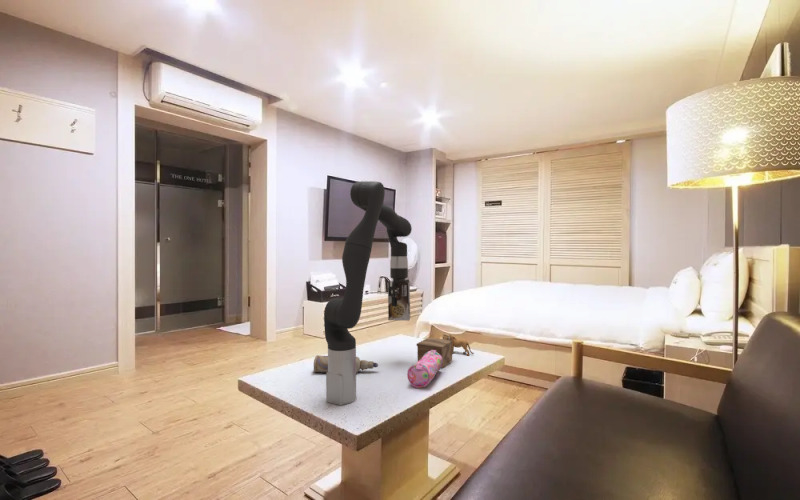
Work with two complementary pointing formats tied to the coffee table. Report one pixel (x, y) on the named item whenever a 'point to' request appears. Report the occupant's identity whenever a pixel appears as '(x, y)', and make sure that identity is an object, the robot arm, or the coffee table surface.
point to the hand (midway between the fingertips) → (399, 304)
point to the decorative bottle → (322, 364)
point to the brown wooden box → (436, 348)
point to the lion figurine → (458, 343)
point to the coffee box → (400, 303)
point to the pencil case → (425, 369)
